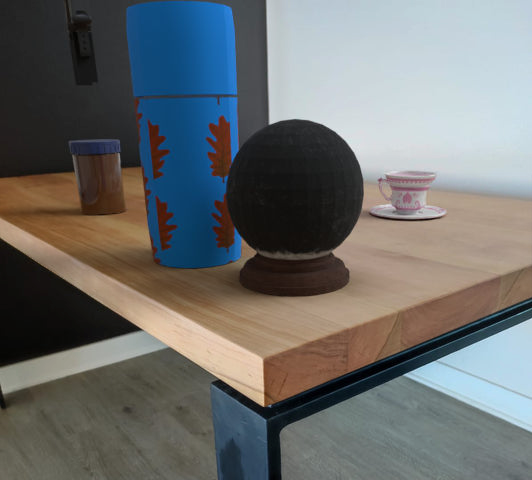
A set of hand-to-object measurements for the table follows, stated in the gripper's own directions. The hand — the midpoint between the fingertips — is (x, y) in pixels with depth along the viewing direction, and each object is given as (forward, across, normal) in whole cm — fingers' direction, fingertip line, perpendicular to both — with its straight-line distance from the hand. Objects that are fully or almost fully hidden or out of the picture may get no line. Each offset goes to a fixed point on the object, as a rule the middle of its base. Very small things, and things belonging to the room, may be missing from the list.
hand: (86, 84), depth 86 cm
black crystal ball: (+20, -51, -14) cm, 57 cm away
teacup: (+20, -25, -45) cm, 55 cm away
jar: (+20, 0, 0) cm, 20 cm away
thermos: (+20, -38, -8) cm, 44 cm away
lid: (+9, 0, 0) cm, 9 cm away
